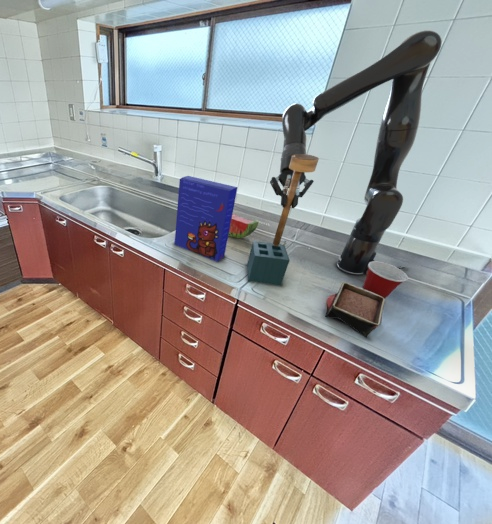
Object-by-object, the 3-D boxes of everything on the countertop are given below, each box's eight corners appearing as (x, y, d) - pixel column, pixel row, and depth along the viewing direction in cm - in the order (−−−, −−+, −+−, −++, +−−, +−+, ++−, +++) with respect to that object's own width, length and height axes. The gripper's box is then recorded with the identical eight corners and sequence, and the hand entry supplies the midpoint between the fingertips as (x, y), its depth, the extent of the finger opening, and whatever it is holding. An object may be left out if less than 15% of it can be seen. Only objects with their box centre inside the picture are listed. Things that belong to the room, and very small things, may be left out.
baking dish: (380, 323, 91) (392, 295, 87) (370, 346, 79) (385, 316, 75) (329, 304, 100) (338, 278, 96) (314, 323, 88) (324, 294, 84)
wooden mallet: (264, 243, 107) (289, 152, 88) (285, 245, 105) (315, 153, 87) (267, 254, 101) (294, 159, 82) (289, 256, 99) (322, 160, 81)
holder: (276, 269, 113) (284, 244, 107) (281, 285, 104) (289, 260, 98) (246, 265, 115) (252, 240, 110) (248, 280, 106) (254, 255, 100)
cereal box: (224, 256, 121) (237, 186, 105) (217, 261, 117) (230, 190, 101) (182, 239, 133) (188, 175, 117) (174, 244, 129) (179, 178, 113)
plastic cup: (393, 313, 92) (412, 283, 85) (353, 301, 97) (368, 272, 90) (389, 295, 100) (407, 266, 93) (353, 285, 104) (367, 257, 98)
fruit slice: (202, 225, 147) (205, 207, 142) (210, 222, 150) (213, 204, 145) (246, 244, 130) (251, 224, 125) (254, 240, 133) (259, 221, 128)
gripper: (274, 152, 96) (269, 200, 92) (319, 155, 93) (316, 204, 89) (268, 165, 103) (264, 209, 99) (310, 167, 100) (307, 213, 96)
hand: (289, 206), depth 94 cm, fingers closed on wooden mallet
